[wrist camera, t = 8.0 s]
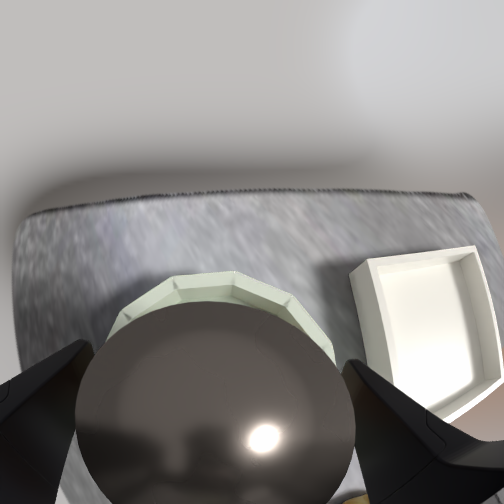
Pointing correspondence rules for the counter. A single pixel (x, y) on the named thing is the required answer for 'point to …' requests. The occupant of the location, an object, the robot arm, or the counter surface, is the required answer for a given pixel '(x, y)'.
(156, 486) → the canister
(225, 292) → the bowl
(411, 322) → the tray
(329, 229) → the counter surface
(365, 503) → the pastry
